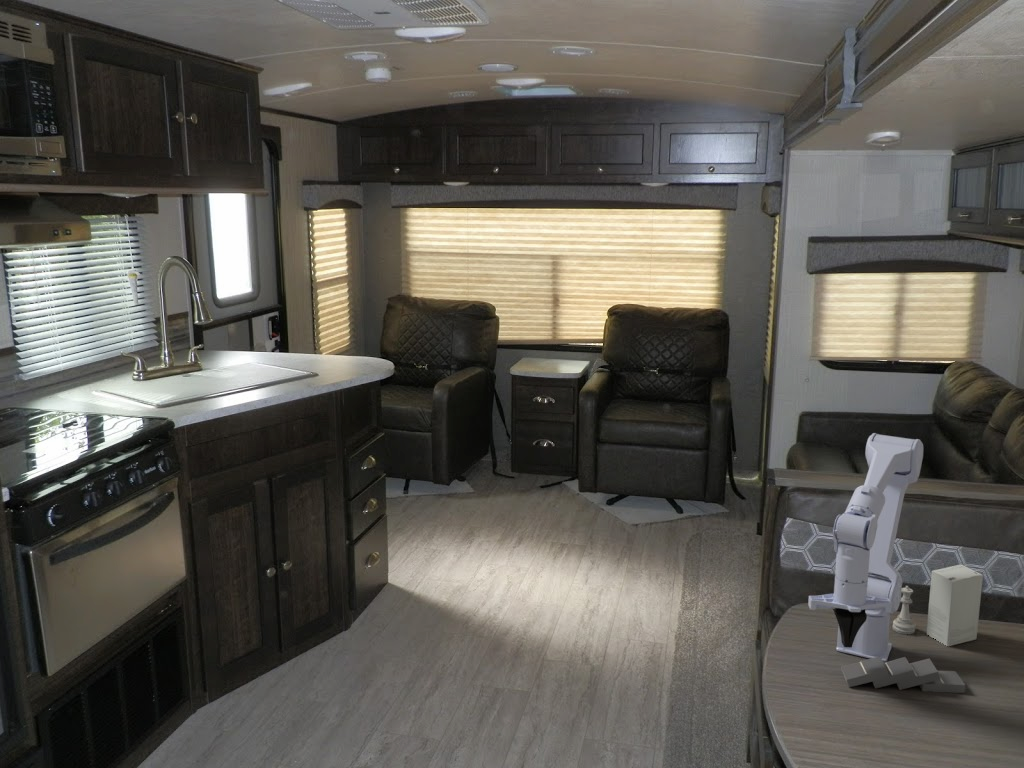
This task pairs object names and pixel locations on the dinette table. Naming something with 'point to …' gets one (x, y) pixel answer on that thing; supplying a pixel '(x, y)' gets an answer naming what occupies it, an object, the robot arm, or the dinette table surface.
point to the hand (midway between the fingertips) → (846, 644)
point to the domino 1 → (864, 671)
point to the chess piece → (904, 614)
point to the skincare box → (954, 605)
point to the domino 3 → (921, 674)
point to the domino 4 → (945, 683)
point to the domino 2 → (896, 672)
